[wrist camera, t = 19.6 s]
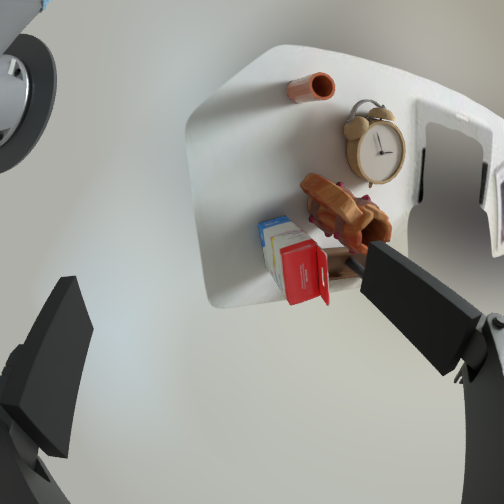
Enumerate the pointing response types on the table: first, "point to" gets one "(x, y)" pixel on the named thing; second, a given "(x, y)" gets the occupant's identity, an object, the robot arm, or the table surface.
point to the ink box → (294, 261)
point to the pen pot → (311, 88)
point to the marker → (355, 266)
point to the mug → (345, 214)
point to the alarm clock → (374, 145)
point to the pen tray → (341, 263)
